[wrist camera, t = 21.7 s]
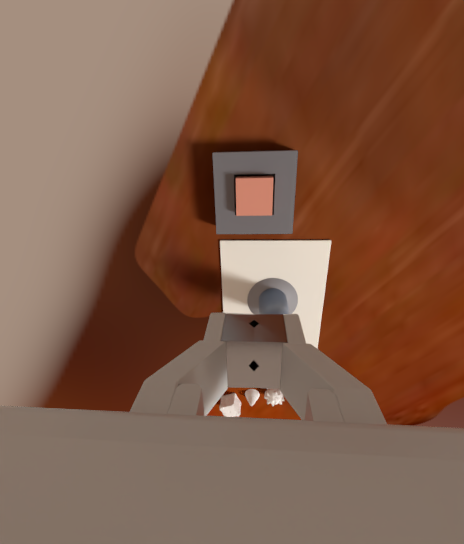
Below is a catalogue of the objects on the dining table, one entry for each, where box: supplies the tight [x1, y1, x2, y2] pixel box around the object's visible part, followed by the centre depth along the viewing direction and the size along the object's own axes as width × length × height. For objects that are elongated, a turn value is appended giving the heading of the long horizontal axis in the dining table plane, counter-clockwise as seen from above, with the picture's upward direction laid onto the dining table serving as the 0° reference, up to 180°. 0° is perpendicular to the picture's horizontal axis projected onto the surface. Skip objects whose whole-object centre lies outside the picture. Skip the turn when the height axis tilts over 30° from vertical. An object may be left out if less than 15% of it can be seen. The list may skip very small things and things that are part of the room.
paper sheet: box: [220, 240, 331, 349], centre depth 45 cm, size 20×16×1 cm
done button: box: [236, 175, 273, 216], centre depth 35 cm, size 4×4×3 cm
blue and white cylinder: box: [259, 288, 290, 314], centre depth 39 cm, size 5×5×13 cm
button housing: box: [212, 150, 298, 234], centre depth 36 cm, size 10×10×4 cm
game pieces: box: [219, 389, 284, 417], centre depth 53 cm, size 12×3×3 cm, turn 113°
